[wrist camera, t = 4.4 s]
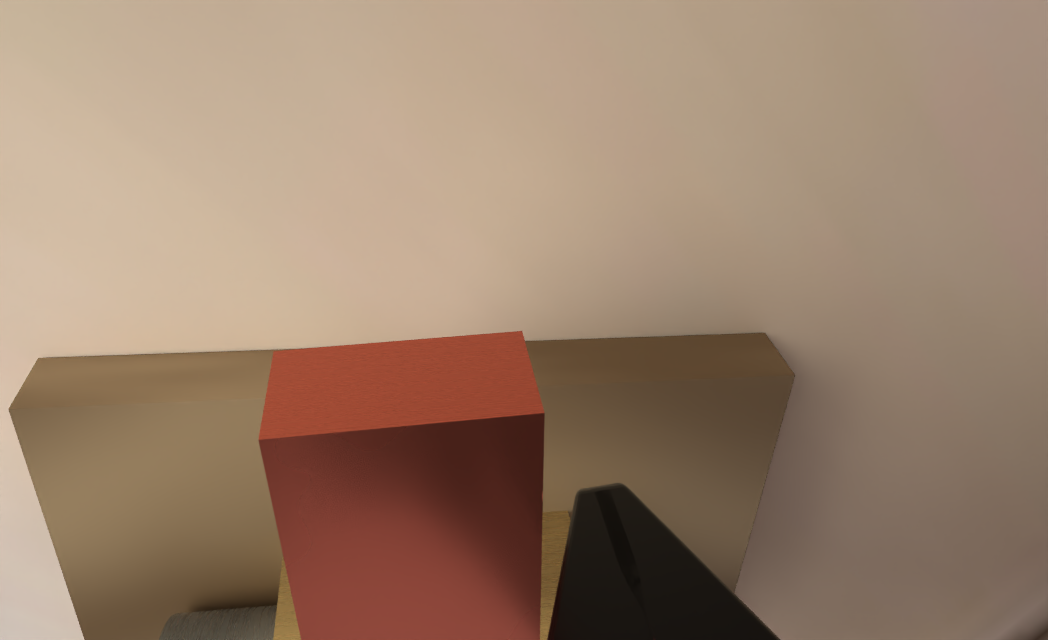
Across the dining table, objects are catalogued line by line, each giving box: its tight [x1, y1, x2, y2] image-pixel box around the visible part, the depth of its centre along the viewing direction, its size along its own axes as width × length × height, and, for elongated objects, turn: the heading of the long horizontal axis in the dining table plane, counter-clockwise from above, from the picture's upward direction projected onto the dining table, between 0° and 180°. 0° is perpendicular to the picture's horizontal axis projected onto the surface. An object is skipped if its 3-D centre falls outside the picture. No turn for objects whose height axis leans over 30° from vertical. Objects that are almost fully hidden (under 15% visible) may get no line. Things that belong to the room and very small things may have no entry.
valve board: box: [9, 333, 795, 640], centre depth 19 cm, size 12×14×2 cm
